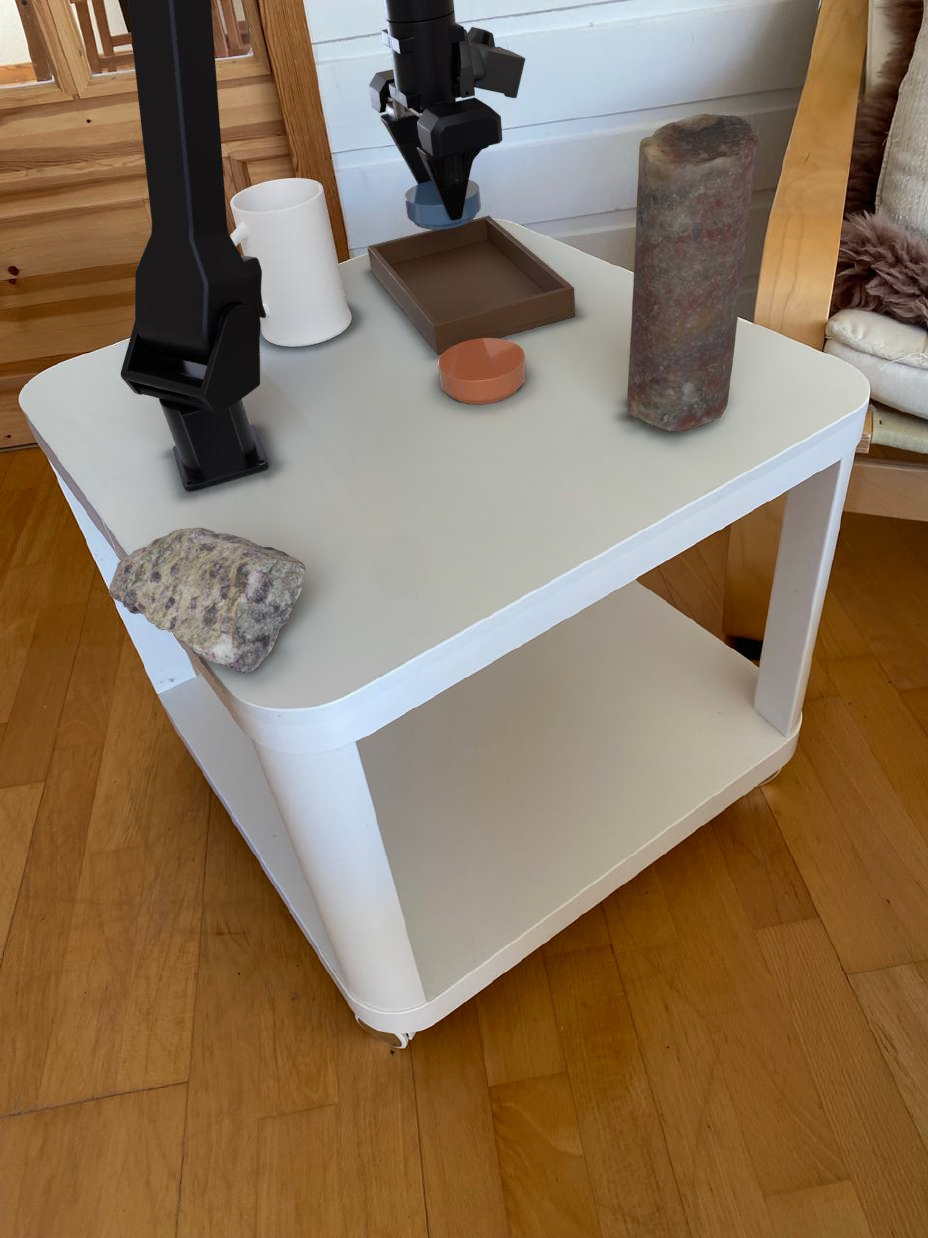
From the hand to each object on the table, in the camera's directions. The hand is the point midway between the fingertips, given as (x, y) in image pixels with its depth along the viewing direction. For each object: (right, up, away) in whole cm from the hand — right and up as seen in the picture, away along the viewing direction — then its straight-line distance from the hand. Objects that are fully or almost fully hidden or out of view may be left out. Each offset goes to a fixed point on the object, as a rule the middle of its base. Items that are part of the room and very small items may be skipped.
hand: (442, 206), depth 89 cm
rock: (-16, -41, -33) cm, 55 cm away
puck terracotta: (+4, -20, -11) cm, 23 cm away
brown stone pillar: (+18, -24, -18) cm, 35 cm away
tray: (+2, -8, +2) cm, 8 cm away
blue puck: (0, -1, +1) cm, 1 cm away
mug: (-14, -12, 0) cm, 19 cm away
